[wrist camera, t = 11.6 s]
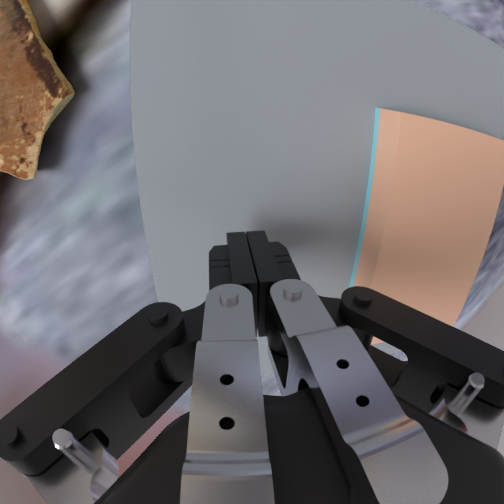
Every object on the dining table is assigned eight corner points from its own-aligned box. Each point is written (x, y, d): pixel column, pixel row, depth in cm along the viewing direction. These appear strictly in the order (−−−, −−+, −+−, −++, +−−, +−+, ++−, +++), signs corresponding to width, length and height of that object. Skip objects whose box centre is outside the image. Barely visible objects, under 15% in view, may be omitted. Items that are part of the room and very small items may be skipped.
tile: (400, 112, 9) (511, 143, 10) (375, 107, 11) (486, 134, 12) (352, 348, 15) (454, 324, 16) (340, 324, 17) (439, 306, 18)
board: (139, -16, 8) (133, -25, 7) (494, 50, 10) (507, 51, 9) (179, 367, 19) (178, 381, 18) (432, 331, 21) (439, 340, 20)
